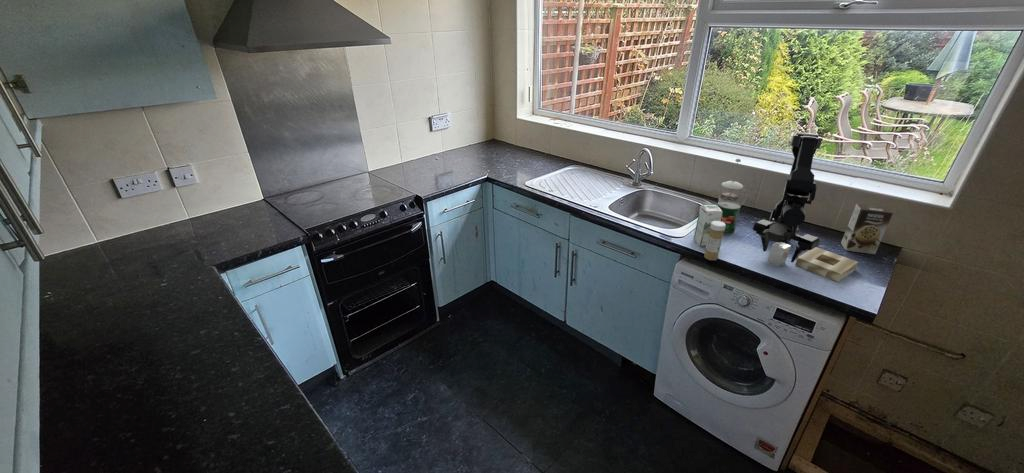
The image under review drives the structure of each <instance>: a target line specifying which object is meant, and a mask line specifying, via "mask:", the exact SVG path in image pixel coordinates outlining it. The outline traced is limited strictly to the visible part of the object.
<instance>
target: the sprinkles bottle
mask: <svg viewBox="0 0 1024 473" xmlns="http://www.w3.org/2000/svg"><path fill="white" fill-rule="evenodd" d="M725 227H726V224H725V223H723V222H721V221H713V222H711V226H710V233H709V237H708V241H707V246H705V252H704V256H703V257H704V258H705V259H706V260H708V261H717V260H718V258H719V253H720V250H721V246H722V240H723V237H724V234H723V233H724V230H725Z"/></svg>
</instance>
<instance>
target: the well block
mask: <svg viewBox="0 0 1024 473" xmlns="http://www.w3.org/2000/svg"><path fill="white" fill-rule="evenodd" d="M858 263H859V261H856V260H854V259H851V258H848V257H846V256H842V255H840V254H837V253H835V252H831V251H829V250H825V249H822V248H820V247H818V246H817V247H815V248H814V249H812V250H807V251H805V253H802V254H800V255H799V256H798V257H797V258H796V260H795V264H794V266H796V267H799V268H801V269H804V270H806V271H809V272H811V273H814V274H816V275H819V276H821V277H824V278H826V279H829V280H831V281H835V282H837V283H839V282H840V281H842V280H843V279H845V278H846V277H847V276H849V275H850V274H851V273H853V272H854V271H856V269H857V266H858Z"/></svg>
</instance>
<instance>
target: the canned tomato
mask: <svg viewBox="0 0 1024 473" xmlns="http://www.w3.org/2000/svg"><path fill="white" fill-rule="evenodd" d="M717 205H718V207H719V208H720V209H721V210H722V211H723V213H722V217H721V222H723V223H725V224H726V227H725V230H724V233H723V235H727V236H729V235H733V234H735V230H736V228H737V227H736V226H737V223H738V218H739V214H740V210H741V206H740V205H741V204H737V203H735V202H731V201H730V200H726V201H720V202H719V203H718V202H717Z"/></svg>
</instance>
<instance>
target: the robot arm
mask: <svg viewBox="0 0 1024 473" xmlns="http://www.w3.org/2000/svg"><path fill="white" fill-rule="evenodd" d="M822 142H823V138H822V137H819V134H818V133H809V132H808V133H807V132H797V134H795V135H792V138H791V142H790V146H791V154H792V155H793V162H792V165H791V169H790V172H789V175H788V178H786V181H785V184H784V185H785V186H784V189H783V194H782V198H781V199H779V201H778V202H777V203H776V205H775V207H773V208H772V211H771V214H770V217H769V220H766V219H763V218H762V219H761V220H759V221H756V222H755V223H754V224H753V226H752V231H755V233H756V234H757V235H759V237H760V239H761V245H762V250H763V251H762V252H766V251H767V250H768V247H769V244H770V241H773V242H775V243H776V242H779V243H781V242H782V243H786V242H787V241H789V242H790V241H791V240H793V241H795V242H796V241H797V245H796V246H795V250H794V252H793V254H792V257H791V260H790V262H791V263H794V262H796V261H797V258H798V257H799V256H801V255H802V254H803V252H804V251H805V252H807V251H809V250H812V249H814V248H815V247H817V248H818V247H819V245H820V242H821V241H820V238H819V237H817V236H814V235H811V234H810V233H809V234H808V233H806V234H805V235H800V234H797V233H798V232H799V226H800V225H802V224H803V223H804V222H805V220H806V211H805V206H806V205H812V201H813V202H814V200H815V197H816V193H817V188H818V187H817V183H816V182H815V174H814V173H813V171H812V166H813V160H814V155H815V154H816V151H817V150H819V149H820V148H821V145H822Z"/></svg>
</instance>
